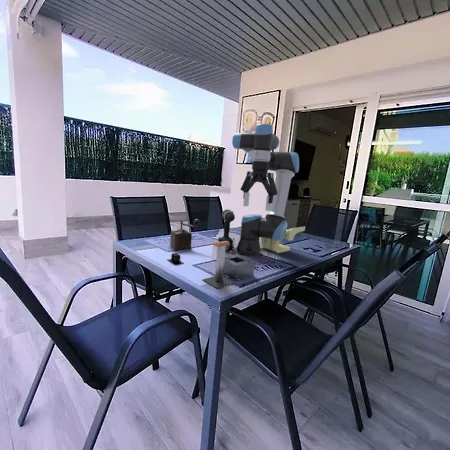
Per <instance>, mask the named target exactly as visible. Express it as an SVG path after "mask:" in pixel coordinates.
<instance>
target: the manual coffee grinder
mask: <svg viewBox="0 0 450 450" xmlns="http://www.w3.org/2000/svg"><path fill="white" fill-rule="evenodd" d="M199 224H201V221H200V220H199V219H197V218H195V219H194V220H193V225H192V224H187V223H183V220H180V228H179V229H176V230H171V231H170V241H169V242H170V243H169V246H170V245H171V246H170V247H171V248H172V249H174V250H175V251H177V250H179V251H180V250H188V249H192V236H193V235H192V233H191V232H190V231H188V230H186V229H184V228H183V226H187V227H190V228H198V227H199Z"/></svg>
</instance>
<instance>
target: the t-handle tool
mask: <svg viewBox="0 0 450 450" xmlns="http://www.w3.org/2000/svg"><path fill="white" fill-rule="evenodd" d="M226 245H229V241H222V242H219V241H217V242H214V245H213V246H214V247H216V256H215V257H216V260H215V273H214V276H215V282H218V283H221V282H223V276H224V277H225V275H224V263H225V257H226V251H225V250H226Z"/></svg>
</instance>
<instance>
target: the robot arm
mask: <svg viewBox="0 0 450 450" xmlns="http://www.w3.org/2000/svg"><path fill="white" fill-rule="evenodd" d="M231 141H232V143H231V144H232V146H233V148H234V149H237V150H242V151H244V152H246V153H247V154H248V155H249V156H250V157H251V158H252V163H251V169H252V171H250V170H249V171H246V176H245V178H244V181H243V182H242V185H241V188H240V191H242V193H243V196H242V197H243V207H249V205H250V191H251V189H252V188H253V186H254V185H255V184H257V183H261V184H262V185H263V188H264V189H265V191H266V193H267V195H266V198H265V199H266V200H265V209H264V210H265V211H266V212H268V213H266V215H265V217H263V216H262V214H244V215H243V216H242V217H241V222H240V224H241V226H240V236H239V237H240V238H239V241H238V243H237V246H236V250H235V251H236V252H237V253H238V254H239V255H240V254H241V255H245V256H258V255H260V254H261V253H262V247H261V244H260V238H261V237H262V238H267V239H272V240H281V239H282V240H283V239H284V238H283V237H284V235H285V233H286V230H288V229H287V228H288V221H286V217H285V211H286V206H287V201H288V197H289V195H288V194H289V192H290V186H291V180H292V179H293V177H295V174H296V173H299V170H300V157H299V154H298V153H297V152H293V151H275V150H277V149H278V147H279V145H280V139H279V137H278V135H276V134H275V133H274V127H273V125H272V124H271V123H257V124H256V126H255V130H254V132H235V133H234V134H233V136H232V140H231ZM268 171H271V172H268ZM274 172H275V173H274ZM274 174H275V175H276V178H274ZM282 240H281V241H282Z"/></svg>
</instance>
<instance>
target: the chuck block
mask: <svg viewBox="0 0 450 450" xmlns="http://www.w3.org/2000/svg"><path fill="white" fill-rule="evenodd" d="M255 265H256V261H255V260H252V259H250V258H247V257H245V256H243V255H240V254H231V255H228V256H225V263H224V276H225V275H226V276H225V277H227V276H228V277H229V278H228V277H227V278H228V279H230V278H231V279H230V280H232V279H234V280H237V281H239V280H238V279H240V280H243V279H245V277H247V278H249V277H248V276H250V277H252V276H251V275H253V276H254V275H255ZM242 278H243V279H242ZM234 280H233V281H234Z"/></svg>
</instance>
